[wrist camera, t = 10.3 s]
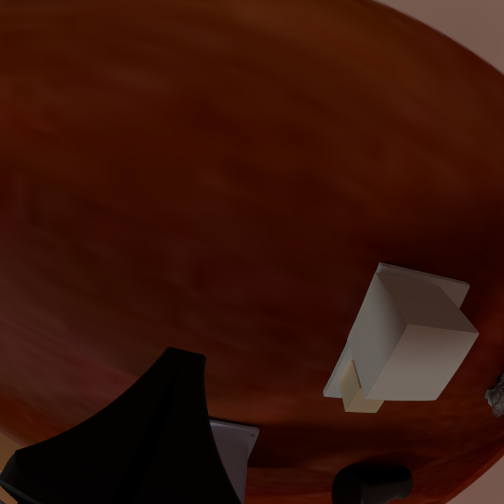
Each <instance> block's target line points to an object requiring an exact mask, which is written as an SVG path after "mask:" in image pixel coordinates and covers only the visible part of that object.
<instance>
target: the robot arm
mask: <svg viewBox="0 0 504 504" xmlns="http://www.w3.org/2000/svg"><path fill="white" fill-rule="evenodd" d="M205 363H206V357H205V356H204V355H202V354H197V353H193V352H189V351H185V350H180V349H176V348H172V347H168V348H166V350H165V351H164V352H163V353H162V355H161V356H160V357H159V358H158V359H157V361H156V362H155V363H154V364H153V365H152V366H151V367H150V368H149V369H148V370H147V371H146V372H145V373H144V374H143V375H142V376H141V377H140V378H139V379H138V380H137V381H136V382H135V383H134V384H133V385H132V386H131V387H130V388H129V389H127V390H126V391H125V392H124V393H123V394H122V395H120V396H119V397H118V398H117V399H116V400H114V401H113V402H112V403H110V404H109V405H108V406H106V407H105V408H104V409H102V410H101V411H99V412H98V413H96V414H95V415H93V416H92V417H90V418H89V419H87V420H85V421H84V422H82V423H80V424H79V425H77V426H75V427H73V428H71V429H69V430H67V431H65V432H63V433H61V434H59V435H57V436H54V437H52V438H50V439H48V440H45V441H43V442H40V443H37V444H34V445H31V446H28V447H25V448H22V449H19V450H16V451H15V453H14V454H13V456H12V457H11V458H10V459H9V461H8V462H7V464H6V466H5V467H4V469H3V471H2V473H1V474H0V486H1V487H2V488H3V489H4V490H5V491H6V492H7V493H9V494H10V495H11V496H12V497H13V498H14V499H15V500H16V501H17V502H18V504H244V496H245V484H246V472H247V460H248V458H249V456H250V454H251V451H252V449H253V447H254V444H255V442H256V440H257V437H258V435H259V428H257V427H251V426H245V425H239V424H233V423H227V422H222V421H216V420H211V419H209V415H208V410H207V404H206V396H205V387H204V369H205ZM0 504H5V503H4V502H3V501H1V500H0Z"/></svg>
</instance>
